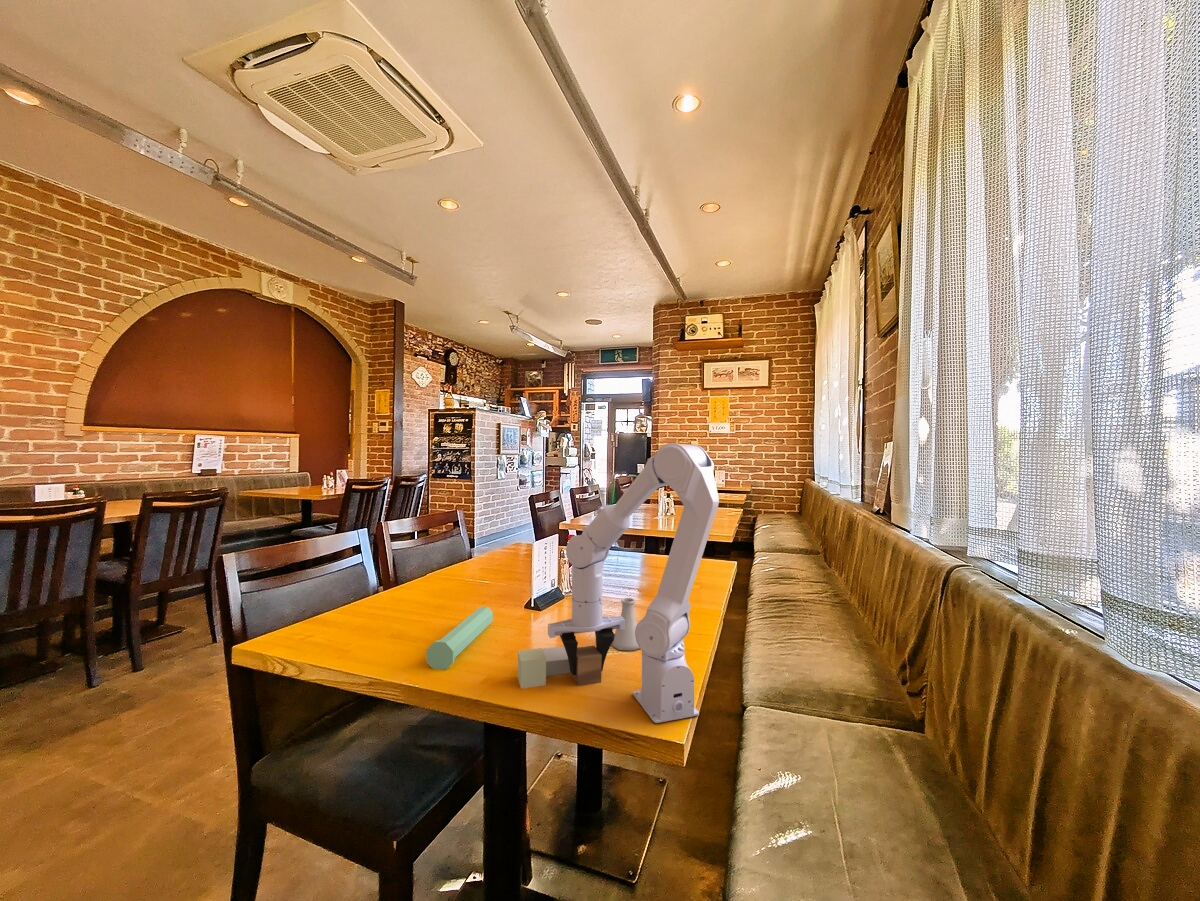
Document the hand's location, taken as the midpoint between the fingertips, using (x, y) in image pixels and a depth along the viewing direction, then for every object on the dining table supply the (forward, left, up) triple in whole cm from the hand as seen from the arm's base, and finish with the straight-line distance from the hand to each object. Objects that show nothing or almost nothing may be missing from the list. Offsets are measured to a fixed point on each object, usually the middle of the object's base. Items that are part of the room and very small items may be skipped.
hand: (586, 670), depth 87 cm
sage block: (+2, +10, -2) cm, 10 cm away
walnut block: (0, 0, -1) cm, 1 cm away
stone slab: (+6, +4, -2) cm, 7 cm away
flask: (+12, -13, -2) cm, 18 cm away
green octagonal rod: (+23, +21, -2) cm, 31 cm away
